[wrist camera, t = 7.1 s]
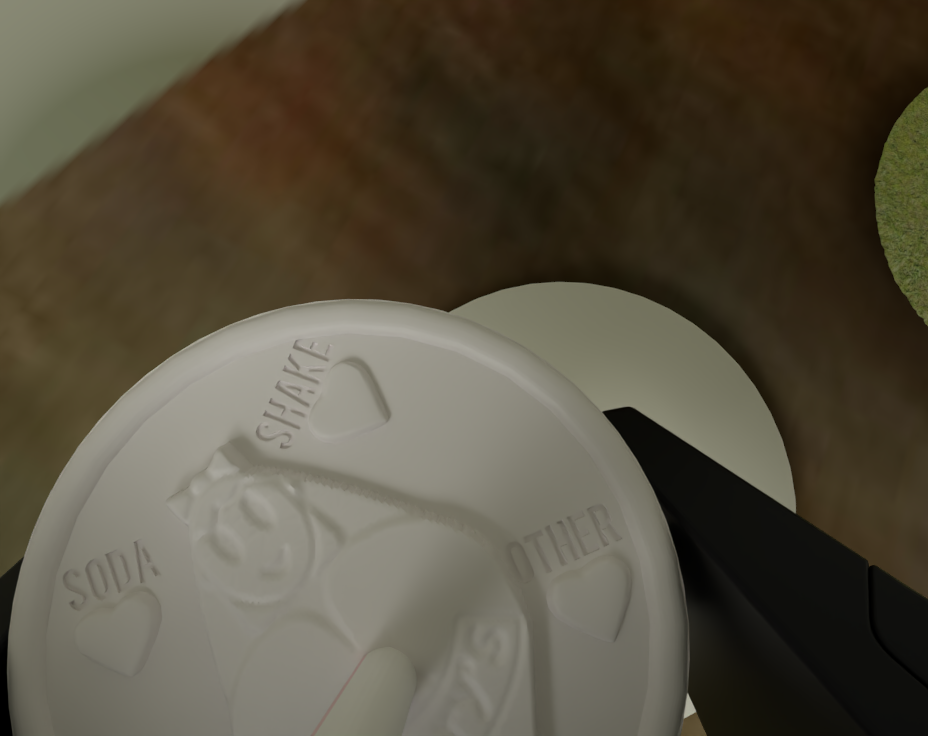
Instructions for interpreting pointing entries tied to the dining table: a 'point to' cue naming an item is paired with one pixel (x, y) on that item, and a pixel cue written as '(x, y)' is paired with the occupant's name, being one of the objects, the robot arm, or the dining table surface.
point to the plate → (647, 372)
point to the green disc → (906, 202)
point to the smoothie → (351, 547)
